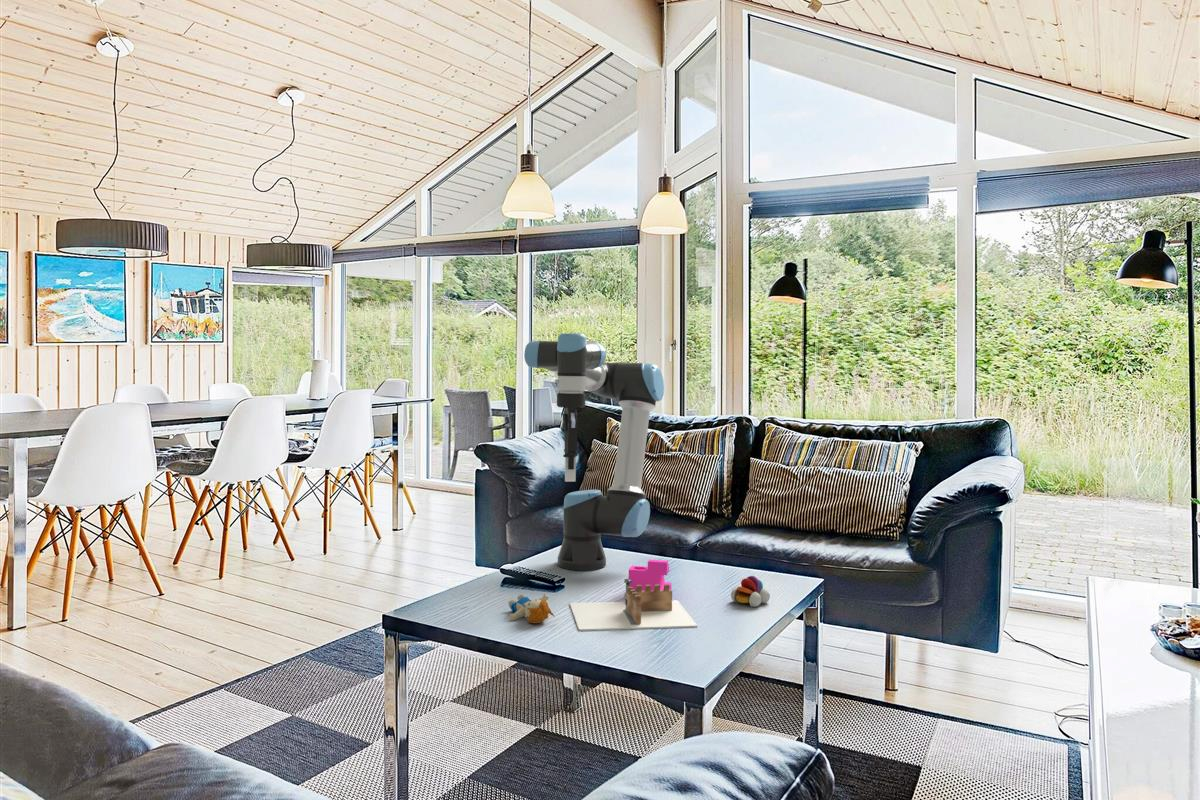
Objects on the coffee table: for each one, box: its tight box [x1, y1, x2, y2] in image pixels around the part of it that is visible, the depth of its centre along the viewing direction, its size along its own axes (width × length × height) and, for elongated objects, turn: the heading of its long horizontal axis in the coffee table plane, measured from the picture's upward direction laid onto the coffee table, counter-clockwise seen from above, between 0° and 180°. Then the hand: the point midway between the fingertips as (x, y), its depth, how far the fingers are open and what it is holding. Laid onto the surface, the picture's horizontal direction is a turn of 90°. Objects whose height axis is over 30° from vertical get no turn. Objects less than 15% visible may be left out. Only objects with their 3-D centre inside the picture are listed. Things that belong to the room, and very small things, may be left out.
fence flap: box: [624, 587, 641, 624], centre depth 213 cm, size 10×2×7 cm, turn 12°
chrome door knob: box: [624, 578, 632, 595], centre depth 219 cm, size 2×2×8 cm
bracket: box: [628, 559, 673, 591], centre depth 235 cm, size 12×10×10 cm
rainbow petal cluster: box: [730, 575, 771, 608], centre depth 229 cm, size 8×10×7 cm
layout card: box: [569, 599, 698, 632], centre depth 217 cm, size 21×29×1 cm
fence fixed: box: [636, 584, 673, 611], centre depth 220 cm, size 10×1×7 cm, turn 98°
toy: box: [507, 593, 556, 624], centre depth 214 cm, size 12×6×15 cm
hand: (570, 481), depth 226 cm, fingers closed
